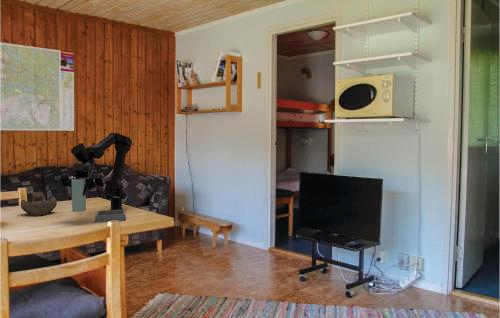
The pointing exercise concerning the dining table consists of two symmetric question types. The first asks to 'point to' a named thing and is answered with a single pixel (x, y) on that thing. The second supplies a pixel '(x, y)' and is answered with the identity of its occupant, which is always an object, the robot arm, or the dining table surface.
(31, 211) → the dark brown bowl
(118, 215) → the tray
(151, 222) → the dining table surface
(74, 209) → the block
